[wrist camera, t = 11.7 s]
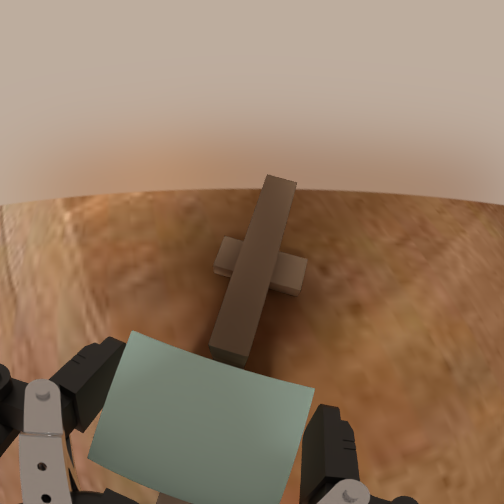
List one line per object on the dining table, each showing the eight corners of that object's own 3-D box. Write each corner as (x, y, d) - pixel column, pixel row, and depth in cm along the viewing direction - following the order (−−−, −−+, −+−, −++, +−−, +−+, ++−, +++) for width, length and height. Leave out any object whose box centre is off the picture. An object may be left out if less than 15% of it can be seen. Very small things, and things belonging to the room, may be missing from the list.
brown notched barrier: (304, 263, 22) (337, 194, 15) (210, 571, 11) (204, 636, 4) (226, 240, 23) (226, 164, 16) (124, 543, 11) (79, 592, 4)
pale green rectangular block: (267, 397, 18) (315, 388, 8) (248, 460, 16) (272, 522, 6) (182, 371, 18) (132, 330, 8) (161, 432, 16) (87, 457, 6)
